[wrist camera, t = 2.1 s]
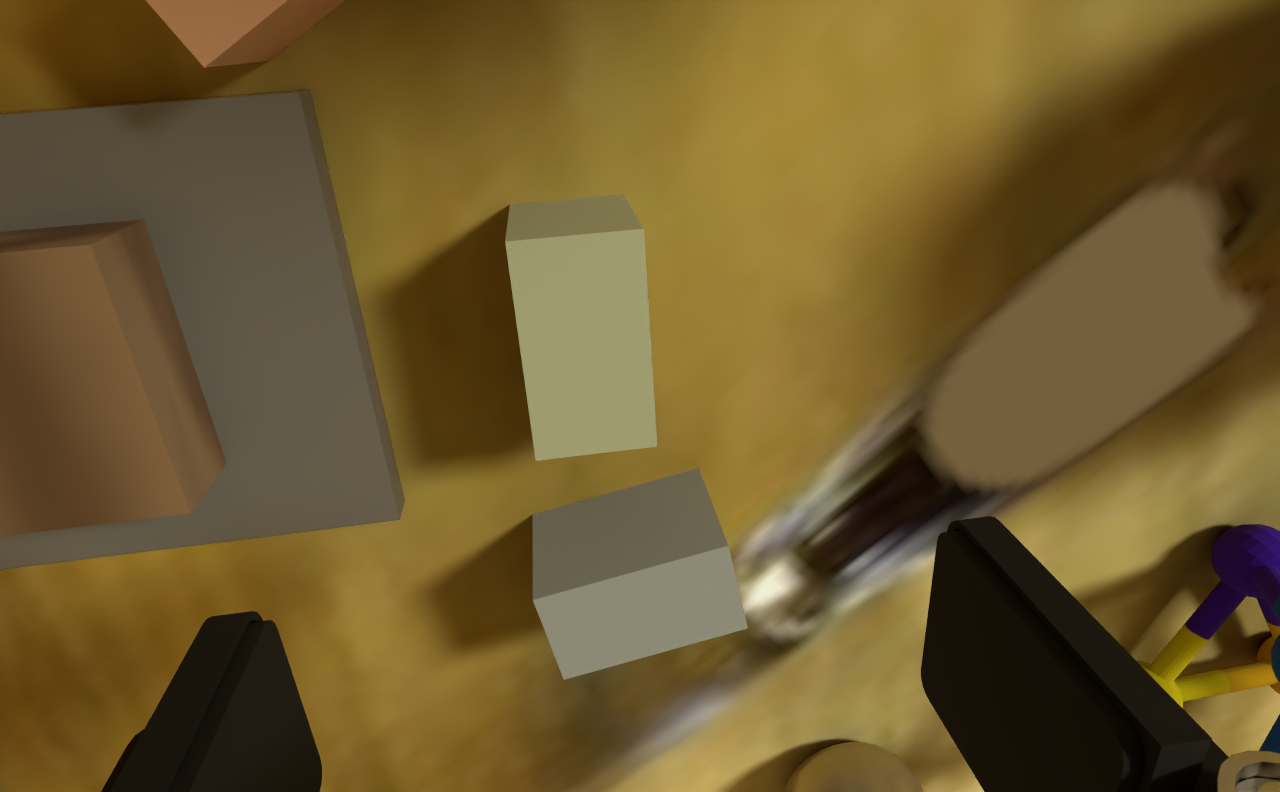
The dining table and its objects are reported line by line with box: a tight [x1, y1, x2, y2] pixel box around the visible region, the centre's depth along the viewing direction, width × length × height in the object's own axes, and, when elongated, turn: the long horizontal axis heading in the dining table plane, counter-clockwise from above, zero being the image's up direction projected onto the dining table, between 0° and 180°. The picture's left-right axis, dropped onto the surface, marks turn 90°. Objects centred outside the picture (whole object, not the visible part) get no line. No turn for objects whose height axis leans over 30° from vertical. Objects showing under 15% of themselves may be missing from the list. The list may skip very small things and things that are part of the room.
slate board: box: [0, 90, 405, 569], centre depth 24 cm, size 16×14×1 cm
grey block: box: [533, 468, 748, 680], centre depth 28 cm, size 6×4×5 cm, turn 104°
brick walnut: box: [0, 219, 227, 536], centre depth 22 cm, size 6×8×3 cm
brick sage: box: [505, 194, 657, 461], centre depth 24 cm, size 6×4×5 cm, turn 4°
